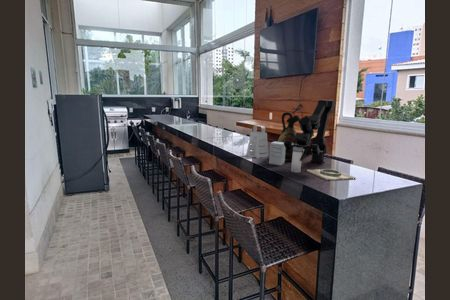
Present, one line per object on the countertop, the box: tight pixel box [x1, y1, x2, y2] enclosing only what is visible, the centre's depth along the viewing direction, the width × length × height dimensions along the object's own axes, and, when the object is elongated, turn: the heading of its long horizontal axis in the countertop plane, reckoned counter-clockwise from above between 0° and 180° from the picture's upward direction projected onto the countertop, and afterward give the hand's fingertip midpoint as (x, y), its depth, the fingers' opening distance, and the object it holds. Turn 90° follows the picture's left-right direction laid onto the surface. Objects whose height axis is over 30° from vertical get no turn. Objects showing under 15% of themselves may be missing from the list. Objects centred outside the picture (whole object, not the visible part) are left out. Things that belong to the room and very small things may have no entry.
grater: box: [245, 124, 269, 159], centre depth 180 cm, size 10×10×20 cm
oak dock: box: [306, 168, 356, 182], centre depth 142 cm, size 17×17×2 cm
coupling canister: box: [290, 147, 304, 174], centre depth 145 cm, size 5×5×13 cm
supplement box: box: [268, 140, 286, 166], centre depth 161 cm, size 7×7×13 cm
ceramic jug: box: [276, 111, 301, 161], centre depth 175 cm, size 17×15×30 cm
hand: (295, 159), depth 144 cm, fingers closed on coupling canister, 5 cm apart
